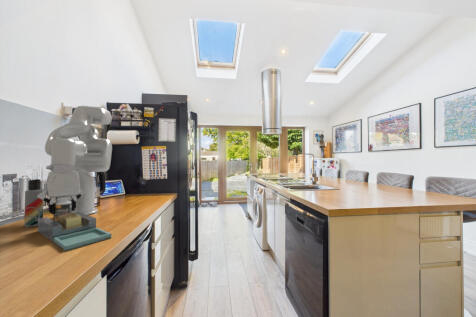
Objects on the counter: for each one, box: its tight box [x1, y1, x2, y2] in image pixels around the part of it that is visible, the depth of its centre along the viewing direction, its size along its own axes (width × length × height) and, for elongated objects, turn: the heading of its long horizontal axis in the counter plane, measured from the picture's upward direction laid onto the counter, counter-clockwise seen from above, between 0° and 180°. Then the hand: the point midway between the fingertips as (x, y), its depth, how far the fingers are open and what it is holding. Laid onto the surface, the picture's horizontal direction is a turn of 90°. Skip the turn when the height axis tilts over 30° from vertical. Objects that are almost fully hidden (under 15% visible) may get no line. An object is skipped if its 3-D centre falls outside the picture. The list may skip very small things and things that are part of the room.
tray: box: [53, 227, 112, 252], centre depth 70 cm, size 12×13×2 cm
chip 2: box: [63, 215, 81, 228], centre depth 76 cm, size 4×4×4 cm
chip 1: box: [58, 213, 76, 226], centre depth 79 cm, size 4×4×4 cm
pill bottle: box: [52, 196, 72, 222], centre depth 83 cm, size 6×6×10 cm
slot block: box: [37, 212, 97, 243], centre depth 79 cm, size 19×13×5 cm
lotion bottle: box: [23, 178, 44, 228], centre depth 87 cm, size 6×6×20 cm
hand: (62, 211), depth 83 cm, fingers closed on pill bottle, 5 cm apart
